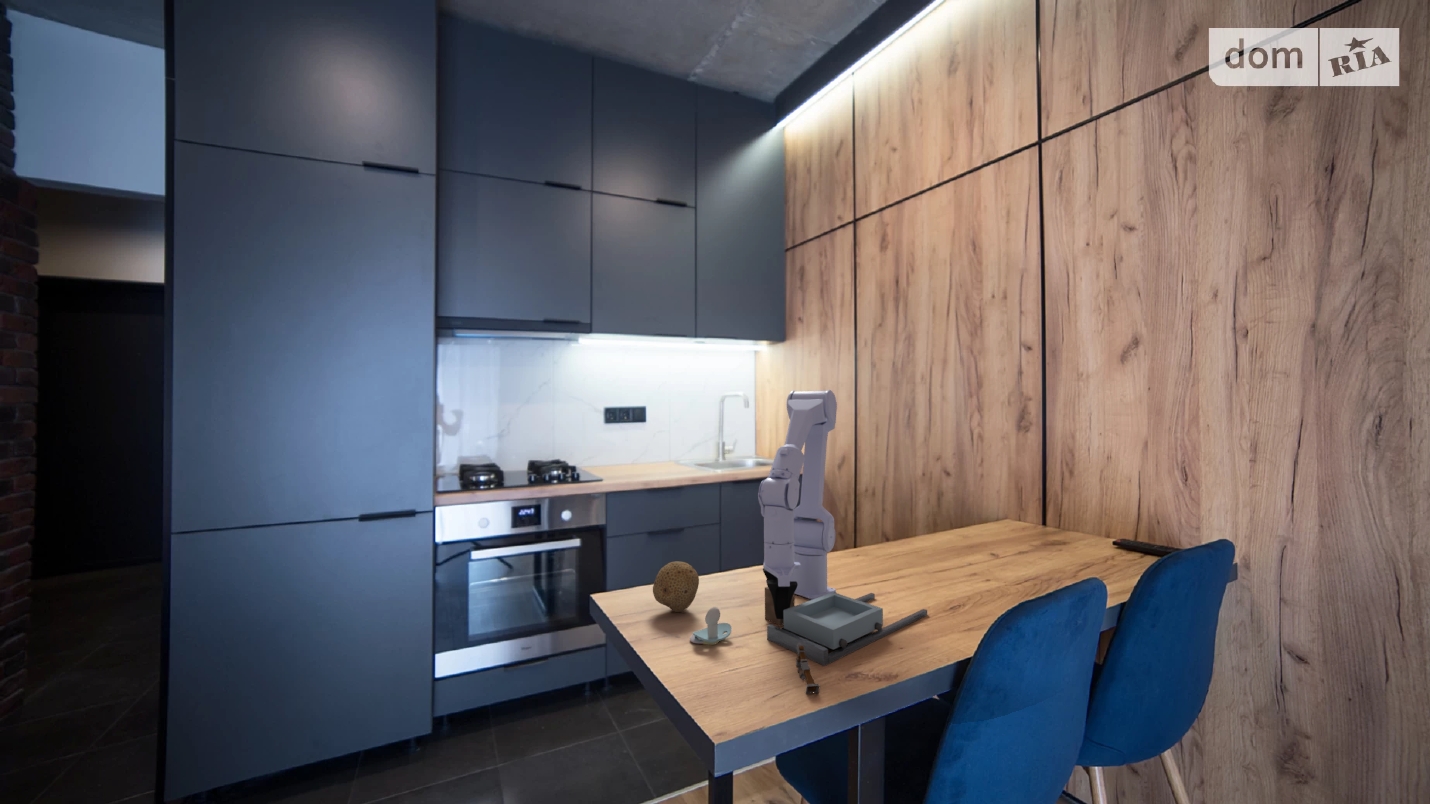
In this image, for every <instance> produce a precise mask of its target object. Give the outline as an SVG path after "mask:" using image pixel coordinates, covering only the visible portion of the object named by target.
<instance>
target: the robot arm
mask: <svg viewBox="0 0 1430 804" xmlns="http://www.w3.org/2000/svg"><path fill="white" fill-rule="evenodd" d="M837 406H838V404H837V399H836V395H835V393H834V392H833V390H831V389H828V390H813V391H812V390H810V391H809V390H807V391H806V390H805V391H803V390H801V391H797V390H791V391H790V392H789V394H788V396H787V398H786V410H787V416H788V418H789V423H788V428H787V434H786V437H785V441H784V445H782V446H780V447H779V448H777V450H776V453H775V455H774V459H773V462H772V466H771V469H770V471H769V474H768V477H766V478H765V479H763V480H762V481H761V482H760V484H759V487H758V493H757V497H758V499H757V500H758V503H759V506H760V514H761V516H762V517H763V542H764V543H763V553H764V555H763V556H764V559H763V565H762V566H763V568H762V573H763V574H764V577H765V578H766V581H765V582H766V587H768V588H769V590H770V592H771V595H772V599H773V605H774V611H775V616H776V619H784V610H785V609H788V608H790V604H791V600H792V597H793V594H794V595H798V596H800V597H804V598H806V599H809V600H813V599H816V598H818V597H821V596H824V595H827V594H829V593H832V592H834V593H837V589H836V588H834V587H830V586H828V553H829V552H831V551H832V549H833V548H834V547H835V546H834V545H835V542H836V529H835V517H834V516H833V515H832V513H830V512H829V511H828V510H827V508H825V507H824V506H823V501H824V488H825V487H824V486H825V477H826V475H825V473H826V461H827V460H826V459H827V443H828V435H829V432H831V431H833V430H834V429H835V428H836V423H837V409H838V407H837ZM803 448H804V452H803V451H802V450H803ZM801 472H802V476H801ZM800 476H801V477H802V478H801V483H800V481H799V479H800ZM800 485H801V488H800ZM800 489H801V490H800ZM799 497H800V503H799ZM798 503H799V505H798ZM797 505H798V506H797ZM809 519H814V520H809ZM816 520H817V521H816ZM818 520H820V521H818Z"/></svg>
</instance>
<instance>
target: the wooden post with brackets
mask: <svg viewBox="0 0 1430 804" xmlns="http://www.w3.org/2000/svg"><path fill="white" fill-rule="evenodd" d="M797 651H798V654H797V658H795V659H796V660H795V666H796V668H797V674H799V678H800V679H802V680H804V681H805V683H806V689H805V694H806V695H808V694H819V693H820V688H821V687H820V686H821V685H820V684H819V683H816V682H815V680H814V677H813V675H812V673H811V668H810V665H809V661H808V658H806V656H805V650H804V646H803V644H801V643H798V644H797ZM813 692H814V693H813Z"/></svg>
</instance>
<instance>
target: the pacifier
mask: <svg viewBox="0 0 1430 804" xmlns="http://www.w3.org/2000/svg"><path fill="white" fill-rule="evenodd" d="M720 618H721V611H720V609H719V608H718V607H717V606H713V607H711V608H710V609H708V611H706V614H705V618H704V619H705V620H704V622H705V624H706V625H707V627H705V628H703V629H699V630H696V631H693V632H692V635H690V637H689V641H690V642H691V643H694V644H699V645H700V644H702V643H703V644H713V645H716V644H715V643H717V642H719V641H720V642H721V641H722V640H725V639H727V638H728V637H729V636H730V635H731V634H732V625H731V624H730V623H728V622H720V623H719V621H720ZM720 642H719V643H720ZM703 644H702V645H703ZM717 644H718V643H717Z"/></svg>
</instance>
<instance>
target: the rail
mask: <svg viewBox="0 0 1430 804" xmlns="http://www.w3.org/2000/svg"><path fill="white" fill-rule="evenodd" d="M875 595H876V594H875V593H874V592H870V593H867V594H864V595H862V596H860V597H857V598H855V599H856V600H859V601H862V602H865V603H868V602H869V600H870V601H872V600H874V599H875V598H876V597H875ZM926 616H928V609H926V608H922V609H920V610H918V611H916V612H914V613H912V614H910V615H907V616H905V617H904V618H901V619H899V620H897V621H895V622H893V623H891V624H888V625H887V626H885V627H884V626H883V627H882V629H881V631H878V630H875V631H872V632H870V633H868V634H866V635H864V636H862V638H861V637H860V638H858V639H856V640H854V641H851V642H849V644H848V643H847V646H846V647H845V648H843V647H839V648H837V649H835V650H834V651H831V652H829V648H828V647H826V646H824V645H821V644H819V643H817V642H814V641H812V640H810V639H807V638H805V637H803V636H801V635H798V634H796V633H794V632H791V631H789V630H787V629H784V626H783V627H779V626H776V625H774V624H768V625H767V626H766V627H767V628H766V636H767V637H766V639H767V640H768V641H770V642H772V643H774V644H776V645H779V646H781V647H783V648H784V649H787V650H788V651H791V652H793V653H795V654H797V655H798V651H797V644H798V643H801V644H803V646H804V650H805V656H806V659H807V660H808V659H809V660H811V661H813V662H815V663H817V664H819V665H821V666H822V667H825V666H827V665H829V664H831V663H833V662H835V661H837V660H840V659H842V658H843V657H846V656H848V655H849V654H851V653H853V652H856V651H858V650H860V649H861V648H864V647H865V646H868V645H870V644H872V643H874V642H875V641H878V640H880V639H882V638H884V637H886V636H888V635H890V634H892V633H894V632H896V631H898V630H900V629H902V628H905V627H906V626H908V625H910V624H913V623H914V622H917V621H918V620H921V619H922V618H925V617H926Z"/></svg>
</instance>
